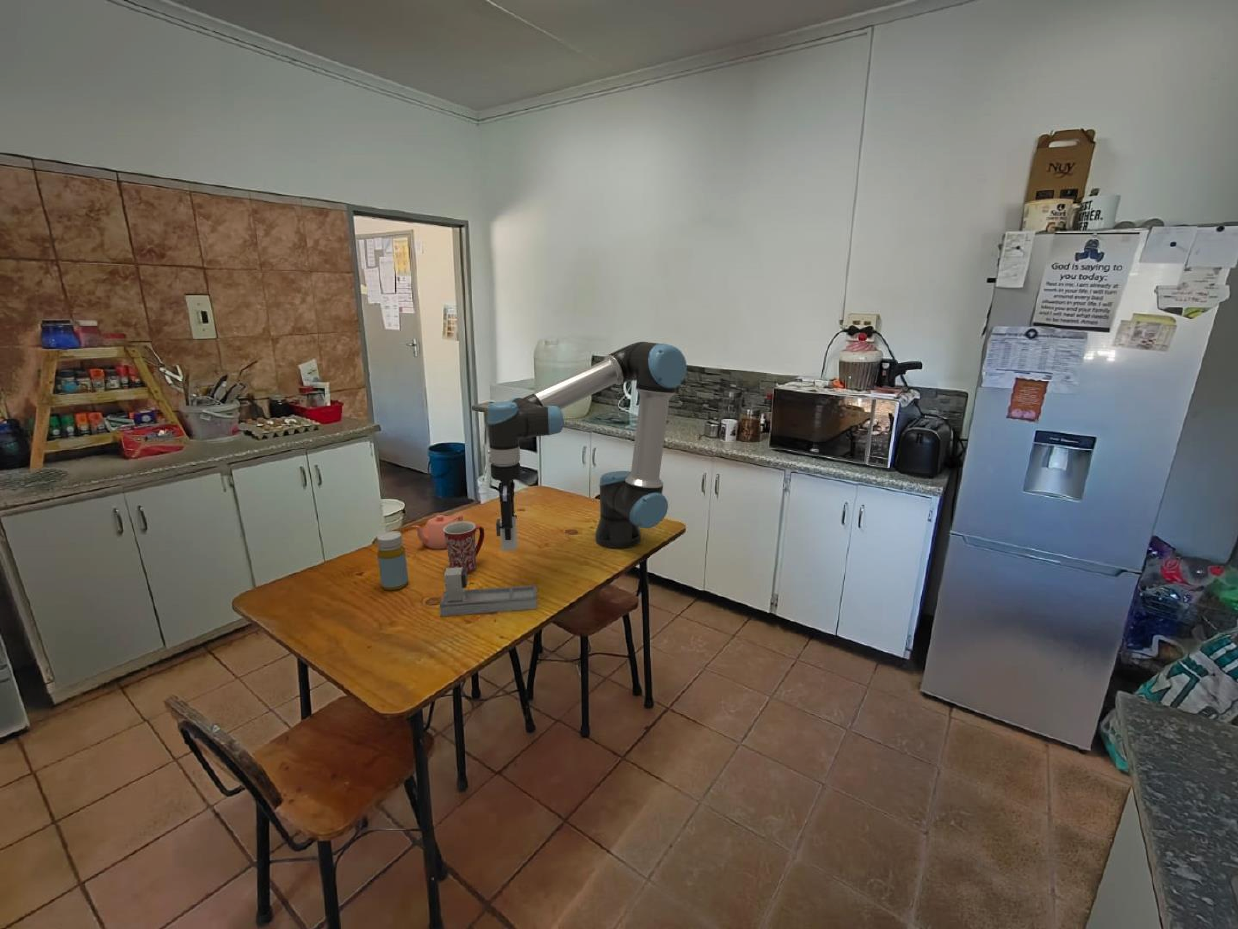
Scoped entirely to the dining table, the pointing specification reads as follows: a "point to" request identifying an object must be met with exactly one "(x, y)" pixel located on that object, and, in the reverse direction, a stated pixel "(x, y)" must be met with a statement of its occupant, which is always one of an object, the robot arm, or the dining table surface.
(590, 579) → the dining table surface
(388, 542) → the bottle
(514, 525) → the small grey block
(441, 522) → the teapot
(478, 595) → the rail
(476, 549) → the mug
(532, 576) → the dining table surface
